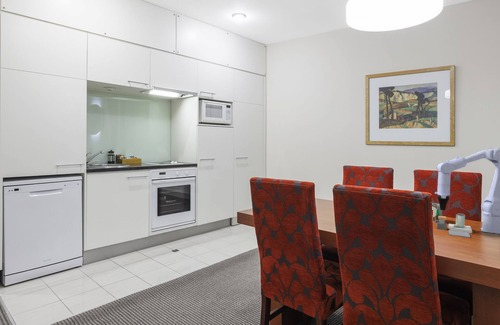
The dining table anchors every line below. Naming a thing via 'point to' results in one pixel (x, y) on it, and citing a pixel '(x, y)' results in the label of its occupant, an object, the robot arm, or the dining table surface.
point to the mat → (459, 233)
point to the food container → (436, 212)
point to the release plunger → (441, 219)
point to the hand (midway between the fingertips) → (442, 209)
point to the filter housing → (454, 228)
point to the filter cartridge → (460, 220)
